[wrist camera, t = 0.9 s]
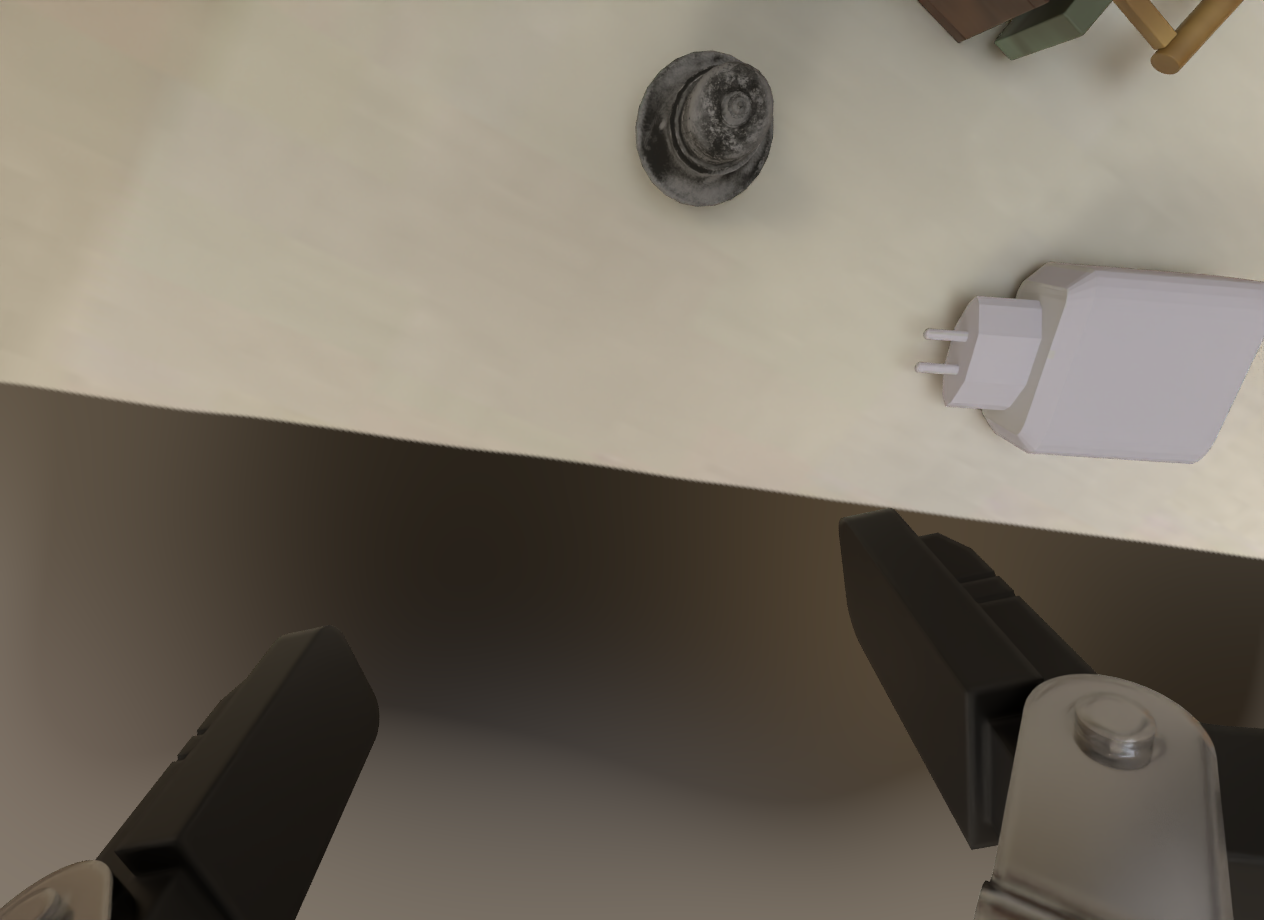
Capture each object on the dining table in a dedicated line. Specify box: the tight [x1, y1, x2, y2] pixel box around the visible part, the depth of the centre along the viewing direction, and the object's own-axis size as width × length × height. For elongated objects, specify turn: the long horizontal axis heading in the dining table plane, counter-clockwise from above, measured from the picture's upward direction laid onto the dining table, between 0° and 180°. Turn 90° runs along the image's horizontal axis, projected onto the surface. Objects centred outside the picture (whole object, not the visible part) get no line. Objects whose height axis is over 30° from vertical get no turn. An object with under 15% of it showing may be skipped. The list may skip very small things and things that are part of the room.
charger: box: [915, 262, 1264, 464], centre depth 32 cm, size 5×9×15 cm
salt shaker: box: [636, 51, 774, 207], centre depth 24 cm, size 6×6×12 cm
